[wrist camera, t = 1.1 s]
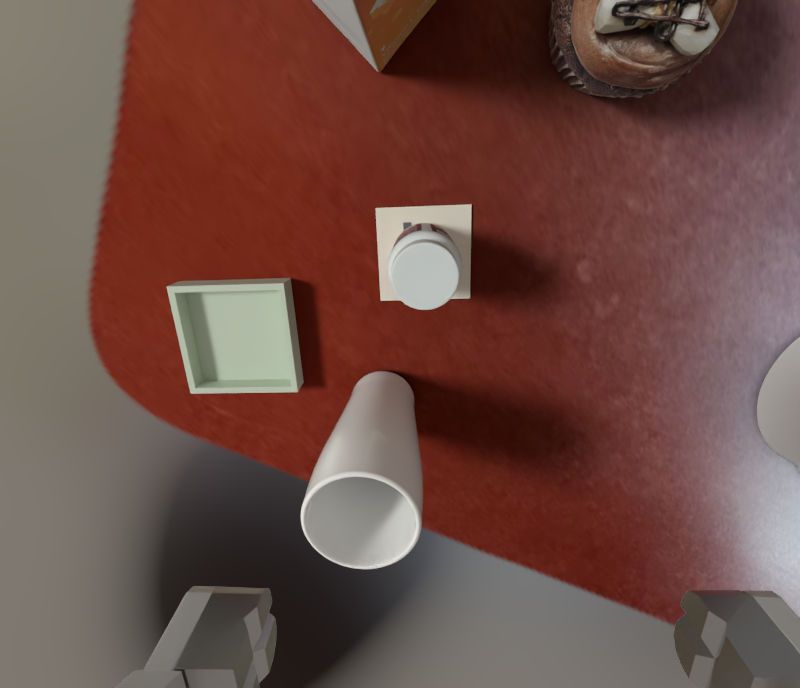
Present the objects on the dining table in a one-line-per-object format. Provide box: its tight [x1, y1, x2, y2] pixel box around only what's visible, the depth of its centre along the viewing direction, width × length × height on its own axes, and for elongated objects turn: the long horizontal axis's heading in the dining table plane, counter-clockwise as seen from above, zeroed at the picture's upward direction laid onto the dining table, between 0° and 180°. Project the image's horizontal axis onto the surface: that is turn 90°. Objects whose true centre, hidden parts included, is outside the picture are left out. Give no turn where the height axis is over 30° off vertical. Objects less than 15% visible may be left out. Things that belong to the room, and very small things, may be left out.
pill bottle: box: [387, 223, 462, 310], centre depth 29 cm, size 5×5×8 cm
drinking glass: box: [301, 371, 423, 569], centre depth 31 cm, size 7×7×15 cm
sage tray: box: [167, 278, 304, 394], centre depth 36 cm, size 9×9×2 cm
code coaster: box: [376, 204, 472, 301], centre depth 33 cm, size 7×7×1 cm
